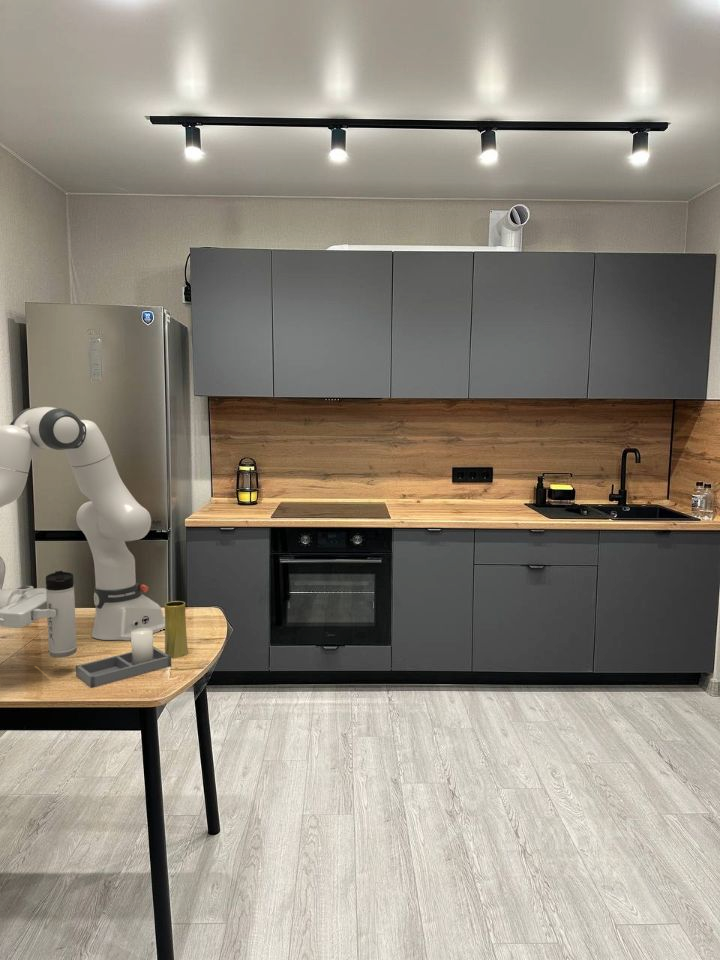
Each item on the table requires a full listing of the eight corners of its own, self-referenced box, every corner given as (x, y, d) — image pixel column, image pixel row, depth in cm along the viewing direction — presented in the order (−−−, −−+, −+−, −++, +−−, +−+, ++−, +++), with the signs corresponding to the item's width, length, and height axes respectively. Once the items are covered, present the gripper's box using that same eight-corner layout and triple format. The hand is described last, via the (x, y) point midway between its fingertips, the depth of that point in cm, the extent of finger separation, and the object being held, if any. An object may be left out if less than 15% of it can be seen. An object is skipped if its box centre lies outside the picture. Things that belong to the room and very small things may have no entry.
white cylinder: (148, 660, 172) (147, 626, 171) (157, 665, 169) (156, 631, 168) (128, 665, 169) (127, 630, 168) (137, 671, 165) (136, 636, 164)
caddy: (153, 657, 176) (153, 646, 176) (171, 668, 169) (170, 656, 168) (76, 677, 163) (75, 665, 162) (91, 690, 155) (91, 677, 155)
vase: (163, 653, 179) (162, 601, 177) (187, 650, 181) (185, 599, 180) (165, 661, 173) (163, 607, 172) (189, 658, 175) (188, 605, 174)
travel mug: (75, 646, 169) (72, 569, 167) (77, 655, 163) (74, 575, 161) (48, 650, 166) (44, 572, 164) (49, 659, 160) (45, 578, 158)
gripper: (-18, 607, 153) (41, 608, 152) (30, 584, 173) (82, 584, 173) (-16, 633, 154) (42, 634, 153) (32, 607, 174) (83, 608, 173)
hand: (64, 608), depth 163 cm, fingers closed on travel mug, 6 cm apart
